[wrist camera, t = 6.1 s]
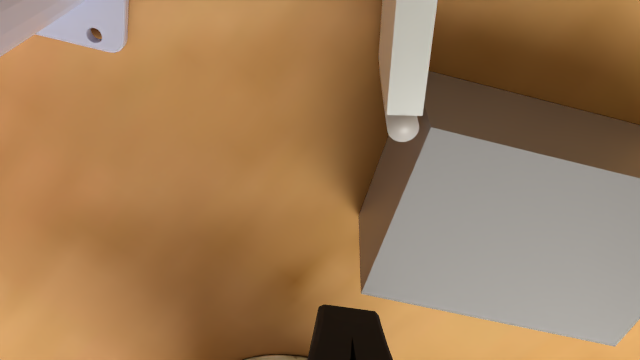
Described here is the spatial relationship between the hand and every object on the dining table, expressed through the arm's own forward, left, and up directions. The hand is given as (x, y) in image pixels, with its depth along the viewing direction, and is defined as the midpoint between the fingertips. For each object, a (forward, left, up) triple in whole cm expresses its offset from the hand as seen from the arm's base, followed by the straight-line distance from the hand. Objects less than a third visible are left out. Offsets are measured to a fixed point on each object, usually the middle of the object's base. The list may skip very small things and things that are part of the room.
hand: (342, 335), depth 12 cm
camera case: (+7, 0, -9) cm, 12 cm away
